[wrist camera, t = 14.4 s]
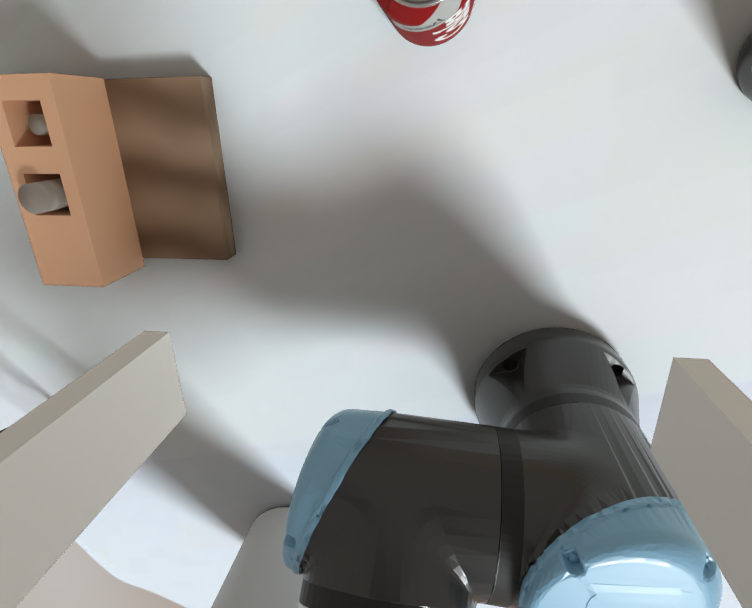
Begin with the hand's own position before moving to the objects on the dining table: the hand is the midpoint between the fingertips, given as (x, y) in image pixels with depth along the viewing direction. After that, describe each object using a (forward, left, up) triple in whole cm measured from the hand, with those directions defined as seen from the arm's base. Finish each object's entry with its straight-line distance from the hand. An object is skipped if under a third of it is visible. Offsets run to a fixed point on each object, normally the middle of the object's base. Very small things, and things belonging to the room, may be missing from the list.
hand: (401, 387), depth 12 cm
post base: (+2, +30, -32) cm, 44 cm away
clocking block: (+1, +32, -30) cm, 44 cm away
